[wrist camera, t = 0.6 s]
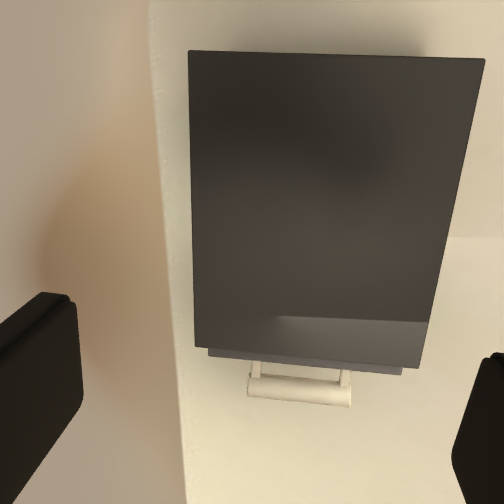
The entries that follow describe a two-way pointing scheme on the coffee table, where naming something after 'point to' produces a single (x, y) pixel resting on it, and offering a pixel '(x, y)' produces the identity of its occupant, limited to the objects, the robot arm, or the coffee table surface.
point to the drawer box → (323, 199)
